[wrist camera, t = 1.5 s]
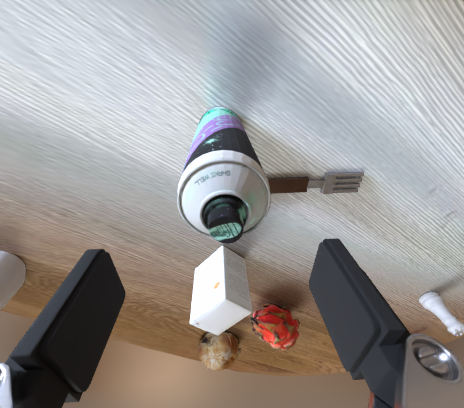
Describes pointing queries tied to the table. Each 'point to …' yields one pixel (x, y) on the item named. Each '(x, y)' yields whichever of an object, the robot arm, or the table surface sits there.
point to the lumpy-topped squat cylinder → (10, 276)
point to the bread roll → (218, 350)
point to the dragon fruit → (276, 326)
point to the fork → (315, 183)
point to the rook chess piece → (441, 312)
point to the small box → (220, 292)
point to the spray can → (223, 180)
